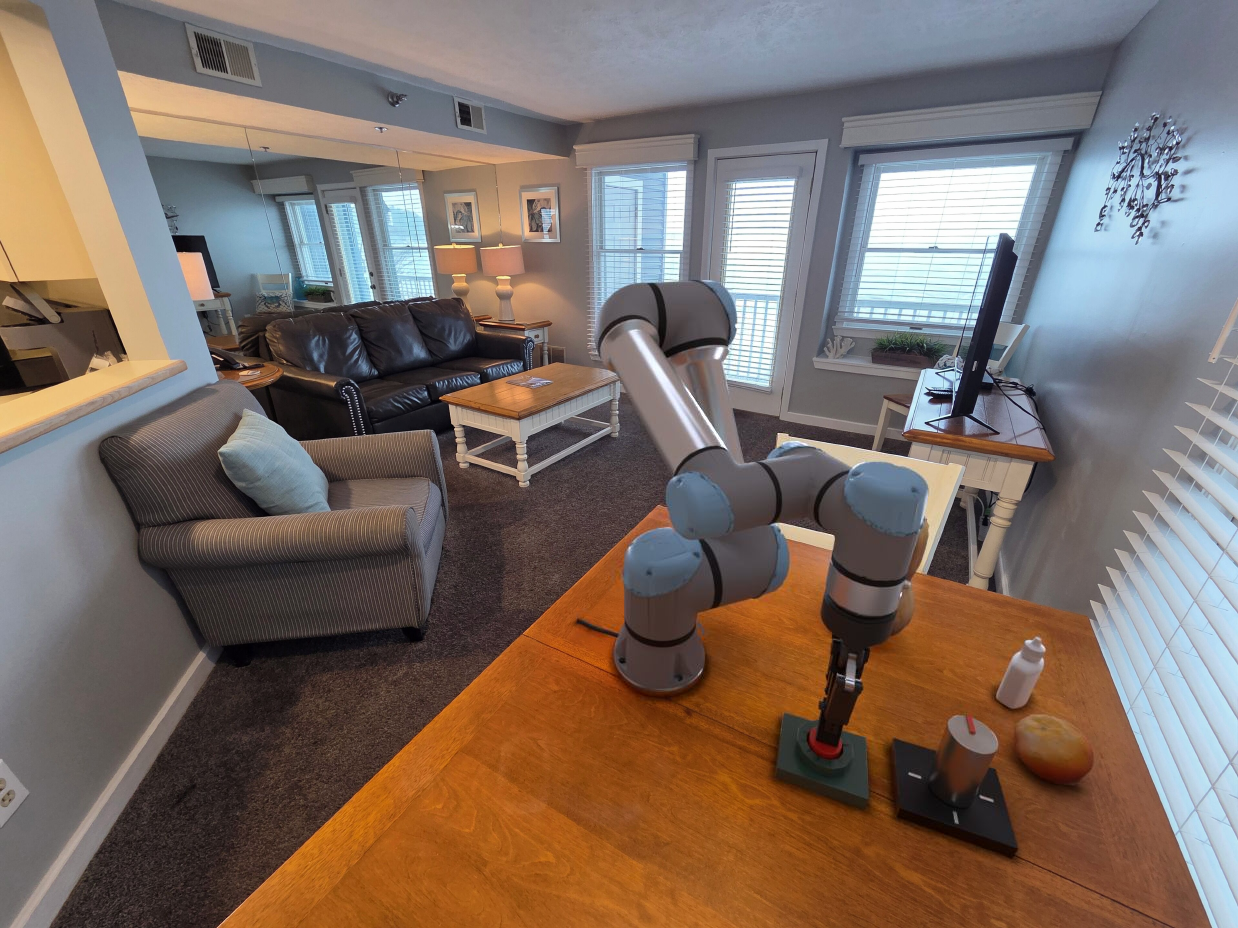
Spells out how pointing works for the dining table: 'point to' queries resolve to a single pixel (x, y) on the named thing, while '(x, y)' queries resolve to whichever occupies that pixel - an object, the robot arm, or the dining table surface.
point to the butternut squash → (907, 597)
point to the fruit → (1053, 749)
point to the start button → (823, 747)
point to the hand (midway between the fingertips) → (826, 739)
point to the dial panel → (921, 806)
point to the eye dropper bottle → (1022, 674)
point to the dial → (962, 760)
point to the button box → (823, 763)
